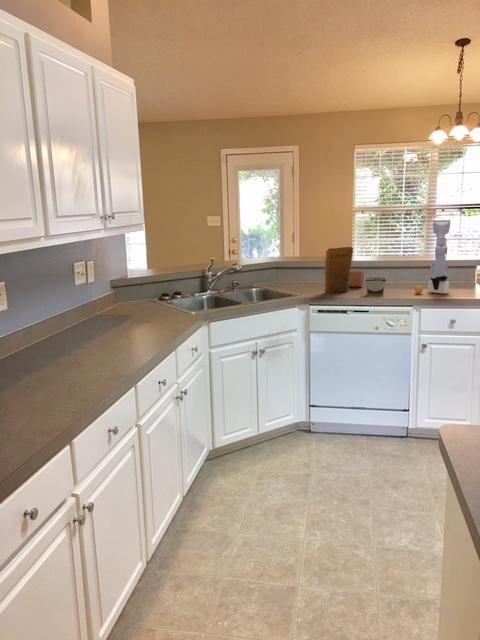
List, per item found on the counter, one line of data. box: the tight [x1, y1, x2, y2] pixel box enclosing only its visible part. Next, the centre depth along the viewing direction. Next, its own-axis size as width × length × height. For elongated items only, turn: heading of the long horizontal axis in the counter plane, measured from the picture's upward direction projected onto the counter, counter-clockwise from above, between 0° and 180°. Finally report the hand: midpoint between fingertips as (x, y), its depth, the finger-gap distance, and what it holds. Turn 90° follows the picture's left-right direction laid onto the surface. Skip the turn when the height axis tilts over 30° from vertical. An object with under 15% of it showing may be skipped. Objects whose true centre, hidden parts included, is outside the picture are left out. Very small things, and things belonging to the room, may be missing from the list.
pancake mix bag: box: [324, 246, 354, 294], centre depth 320 cm, size 7×19×28 cm, turn 104°
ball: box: [413, 285, 424, 295], centre depth 313 cm, size 5×5×5 cm
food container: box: [364, 276, 387, 296], centre depth 314 cm, size 12×6×10 cm, turn 84°
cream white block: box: [427, 280, 450, 294], centre depth 313 cm, size 6×10×6 cm, turn 43°
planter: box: [348, 268, 366, 289], centre depth 342 cm, size 12×12×11 cm
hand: (438, 288), depth 313 cm, fingers closed on cream white block, 6 cm apart
